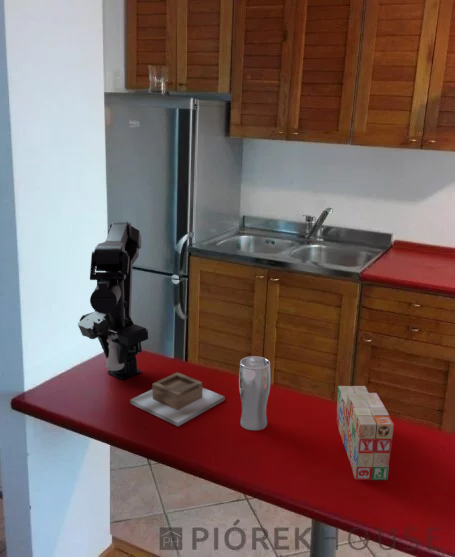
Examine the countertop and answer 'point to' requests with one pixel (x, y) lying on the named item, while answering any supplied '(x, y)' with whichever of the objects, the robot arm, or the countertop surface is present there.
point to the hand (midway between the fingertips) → (114, 360)
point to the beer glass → (254, 391)
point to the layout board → (182, 412)
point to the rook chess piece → (113, 355)
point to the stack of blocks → (364, 432)
